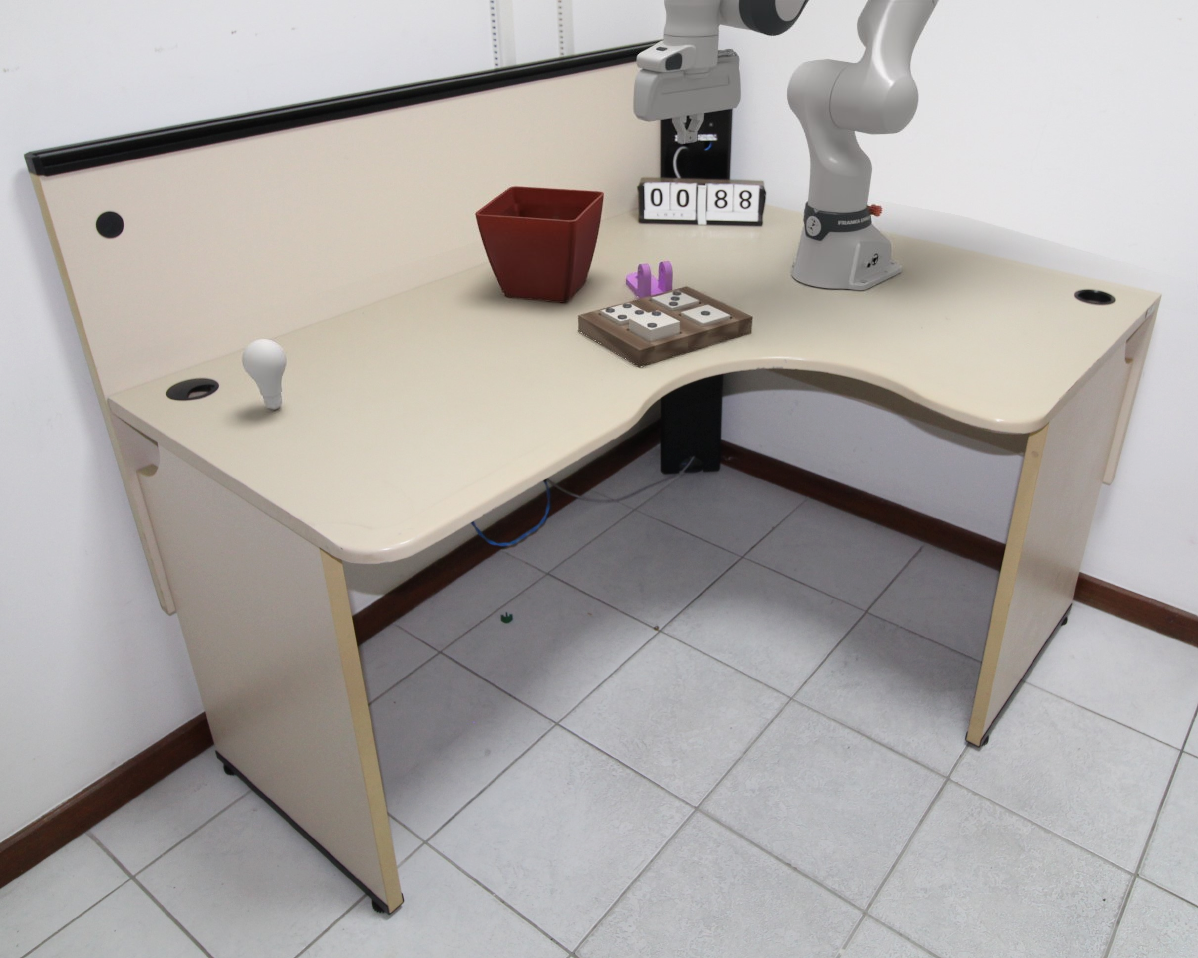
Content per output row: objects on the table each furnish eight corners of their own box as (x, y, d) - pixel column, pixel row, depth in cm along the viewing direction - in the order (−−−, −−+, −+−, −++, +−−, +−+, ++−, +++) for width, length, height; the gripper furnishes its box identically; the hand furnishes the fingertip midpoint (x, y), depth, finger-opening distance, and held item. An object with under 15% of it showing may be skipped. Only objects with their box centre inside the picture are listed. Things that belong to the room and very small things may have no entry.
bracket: (671, 300, 179) (673, 264, 176) (643, 304, 178) (644, 268, 174) (648, 277, 190) (649, 243, 186) (621, 280, 189) (622, 246, 185)
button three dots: (677, 307, 175) (678, 289, 174) (698, 317, 171) (699, 299, 169) (651, 314, 172) (651, 296, 171) (671, 325, 168) (672, 306, 166)
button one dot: (706, 321, 169) (707, 303, 168) (729, 332, 165) (730, 314, 163) (680, 329, 167) (680, 311, 165) (702, 340, 162) (703, 322, 161)
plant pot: (479, 302, 179) (472, 212, 170) (516, 268, 195) (511, 185, 186) (577, 312, 175) (574, 220, 166) (606, 277, 190) (605, 191, 181)
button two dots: (657, 328, 163) (657, 309, 162) (679, 339, 159) (680, 320, 157) (628, 336, 161) (629, 317, 159) (650, 348, 156) (650, 328, 155)
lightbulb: (258, 400, 146) (243, 333, 140) (299, 398, 146) (286, 331, 140) (249, 419, 141) (233, 350, 135) (291, 417, 141) (277, 348, 135)
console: (686, 301, 178) (686, 286, 177) (751, 332, 166) (752, 316, 164) (578, 331, 167) (578, 315, 165) (639, 367, 154) (639, 350, 153)
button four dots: (628, 320, 170) (628, 301, 168) (648, 330, 166) (649, 312, 164) (600, 327, 167) (600, 309, 165) (620, 339, 163) (620, 320, 161)
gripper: (726, 45, 161) (722, 131, 168) (628, 57, 152) (627, 147, 159) (752, 50, 157) (746, 137, 164) (652, 62, 147) (650, 154, 154)
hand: (687, 142), depth 161 cm, fingers closed
